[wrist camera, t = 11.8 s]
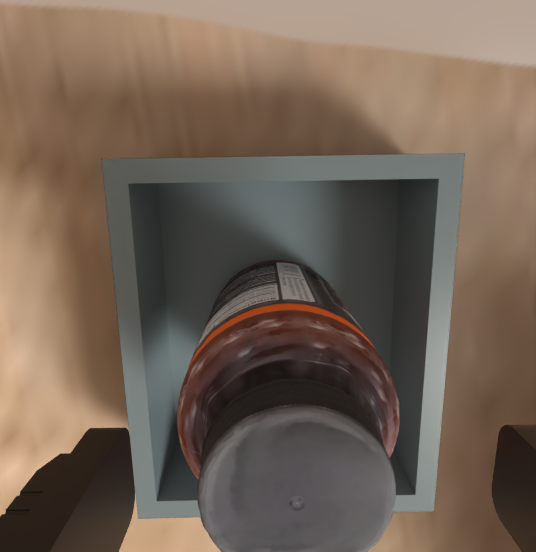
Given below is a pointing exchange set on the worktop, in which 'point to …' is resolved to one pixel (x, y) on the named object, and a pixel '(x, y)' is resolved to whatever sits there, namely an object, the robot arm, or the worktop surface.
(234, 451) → the supplement bottle
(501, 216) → the worktop surface
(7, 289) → the worktop surface
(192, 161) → the bin
